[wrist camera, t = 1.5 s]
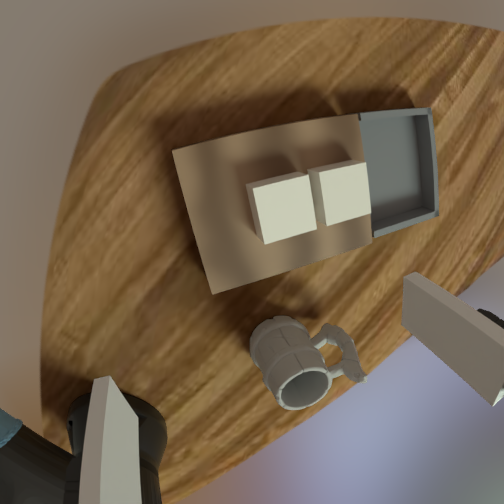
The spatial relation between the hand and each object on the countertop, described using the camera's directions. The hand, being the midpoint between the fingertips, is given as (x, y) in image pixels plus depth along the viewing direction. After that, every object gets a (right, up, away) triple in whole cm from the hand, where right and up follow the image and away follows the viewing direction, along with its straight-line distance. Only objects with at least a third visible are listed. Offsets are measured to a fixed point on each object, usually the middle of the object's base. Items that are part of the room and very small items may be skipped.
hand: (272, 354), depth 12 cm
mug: (+4, -6, +28) cm, 29 cm away
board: (+1, +10, +21) cm, 23 cm away
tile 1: (+7, +10, +18) cm, 22 cm away
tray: (+16, +15, +23) cm, 32 cm away
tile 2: (+1, +9, +17) cm, 19 cm away
